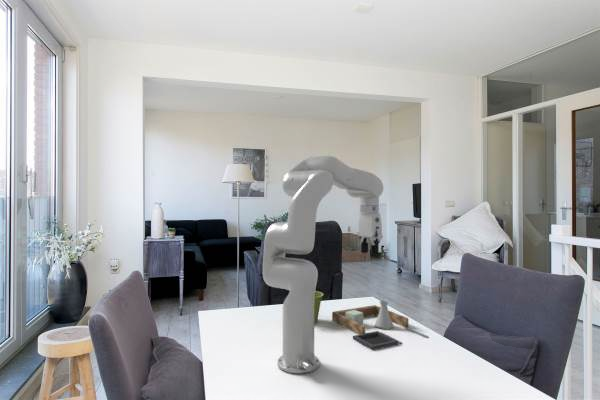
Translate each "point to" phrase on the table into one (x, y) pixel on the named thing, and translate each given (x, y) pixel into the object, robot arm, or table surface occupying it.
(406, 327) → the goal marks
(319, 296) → the plant pot
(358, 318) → the grey green block
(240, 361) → the table surface
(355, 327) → the wooden u-shaped frame
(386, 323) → the flask
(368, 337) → the frame
